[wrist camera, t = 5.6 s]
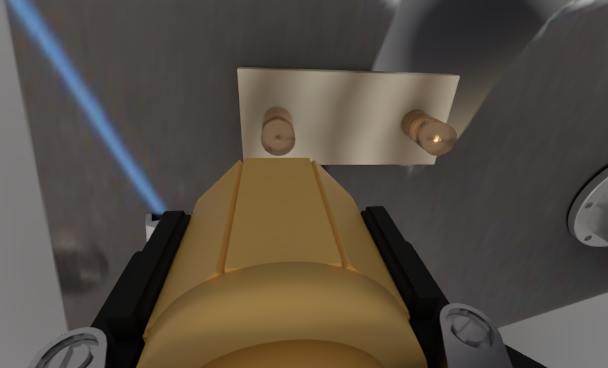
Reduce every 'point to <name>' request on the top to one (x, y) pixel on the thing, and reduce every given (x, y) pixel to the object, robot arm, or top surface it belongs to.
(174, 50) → the top surface
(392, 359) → the cap
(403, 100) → the plate
